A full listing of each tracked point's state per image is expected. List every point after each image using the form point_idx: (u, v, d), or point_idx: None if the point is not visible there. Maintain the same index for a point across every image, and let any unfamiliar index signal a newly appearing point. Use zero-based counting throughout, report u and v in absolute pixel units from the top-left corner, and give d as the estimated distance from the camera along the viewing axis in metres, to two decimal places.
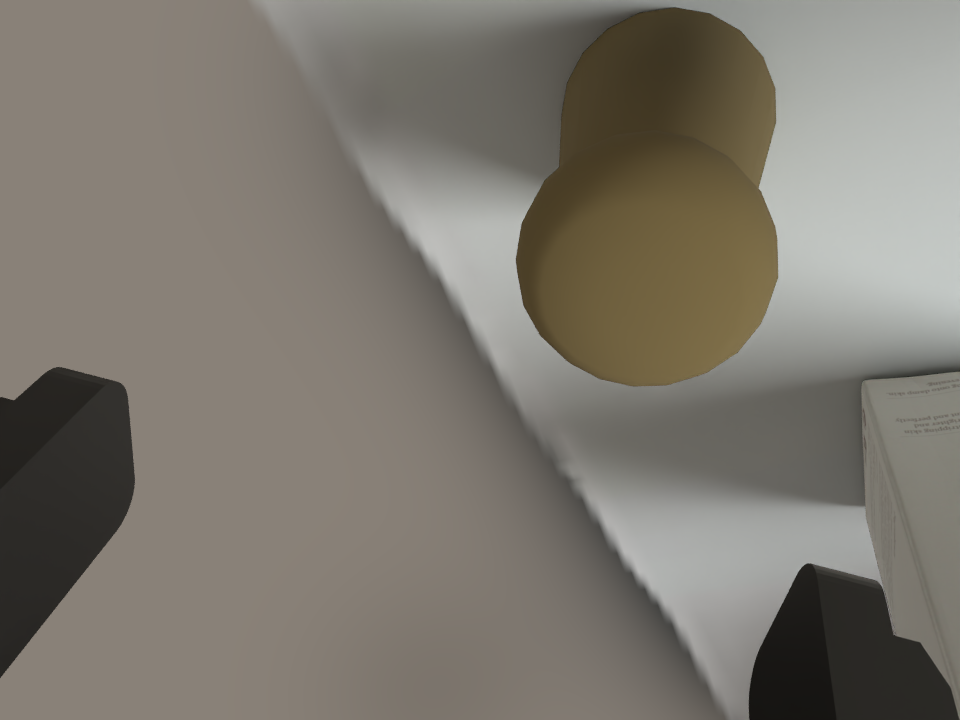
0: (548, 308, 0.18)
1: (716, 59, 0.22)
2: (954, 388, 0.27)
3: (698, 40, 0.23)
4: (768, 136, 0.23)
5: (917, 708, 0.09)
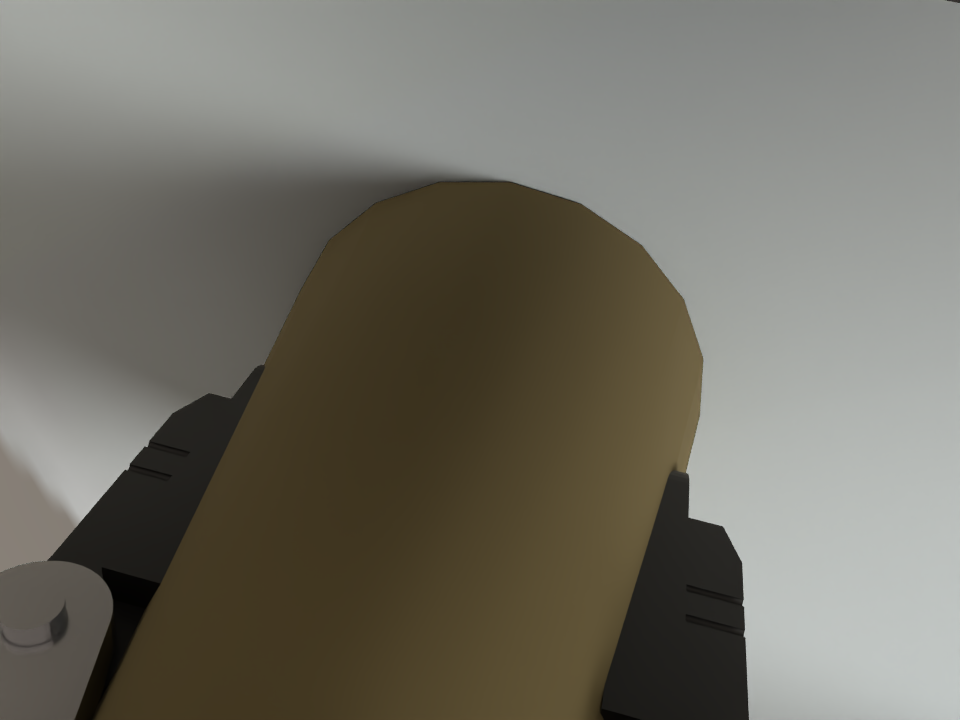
0: None
1: (568, 349, 0.10)
2: None
3: (536, 288, 0.10)
4: None
5: (706, 577, 0.09)
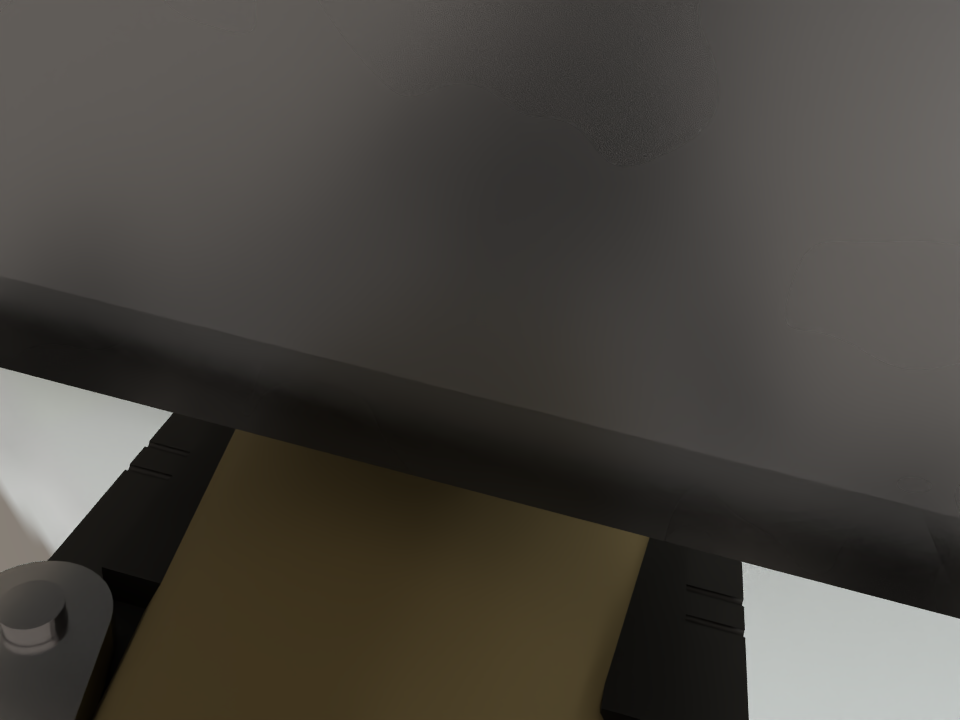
0: None
1: None
2: None
3: None
4: None
5: (706, 577, 0.09)
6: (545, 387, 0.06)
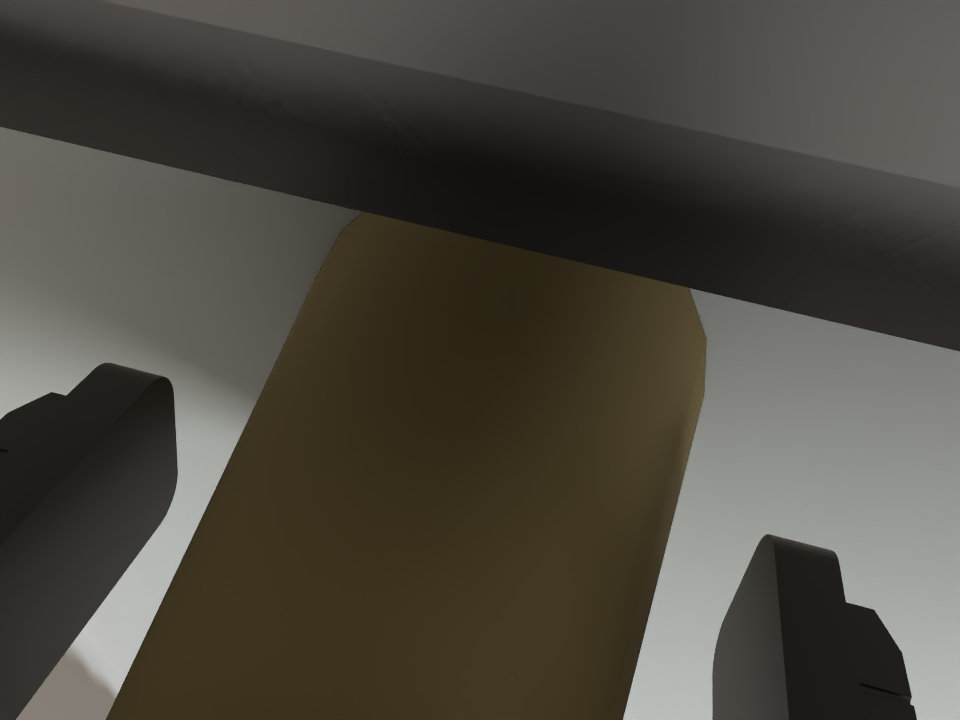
0: None
1: (574, 326, 0.10)
2: None
3: (543, 268, 0.10)
4: (681, 468, 0.11)
5: (868, 671, 0.09)
6: (635, 74, 0.04)
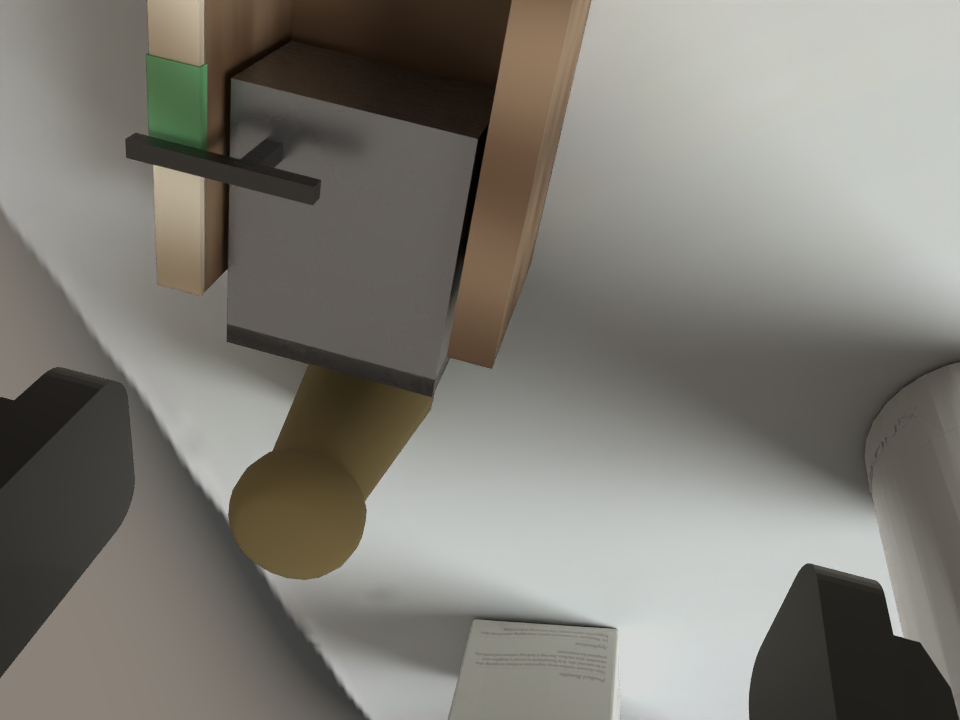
0: (239, 539, 0.34)
1: None
2: (514, 635, 0.48)
3: None
4: (414, 414, 0.40)
5: (917, 708, 0.09)
6: (355, 353, 0.33)
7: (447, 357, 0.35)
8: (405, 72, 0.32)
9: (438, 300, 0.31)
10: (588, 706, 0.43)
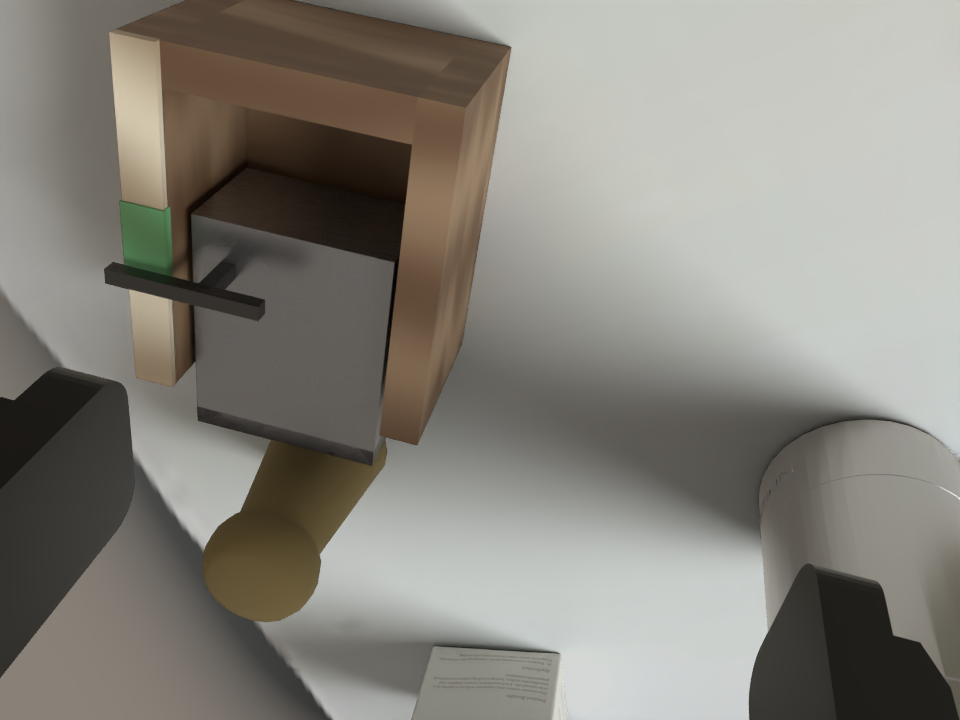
0: (211, 589, 0.40)
1: None
2: (468, 660, 0.53)
3: None
4: (367, 472, 0.46)
5: (917, 708, 0.09)
6: (305, 430, 0.39)
7: None
8: (342, 194, 0.37)
9: (372, 388, 0.37)
10: None
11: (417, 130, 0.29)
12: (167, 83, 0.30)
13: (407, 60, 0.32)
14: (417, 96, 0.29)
